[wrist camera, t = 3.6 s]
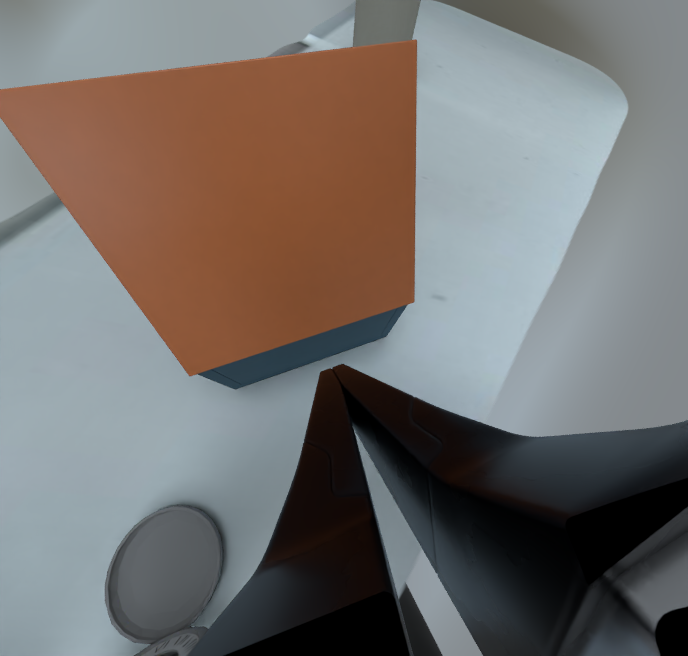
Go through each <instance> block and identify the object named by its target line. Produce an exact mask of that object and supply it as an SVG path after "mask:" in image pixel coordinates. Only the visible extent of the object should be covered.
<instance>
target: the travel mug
mask: <svg viewBox="0 0 688 656" xmlns="http://www.w3.org/2000/svg"><path fill="white" fill-rule="evenodd" d="M420 1H421V0H356V9H355V23H354V37H353V47H358V46H366V45H375V44H383V43H391V42H399V41H408V40H412V37H413V33H414V28H415V23H416V19H417V14H418V10H419V5H420Z"/></svg>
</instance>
